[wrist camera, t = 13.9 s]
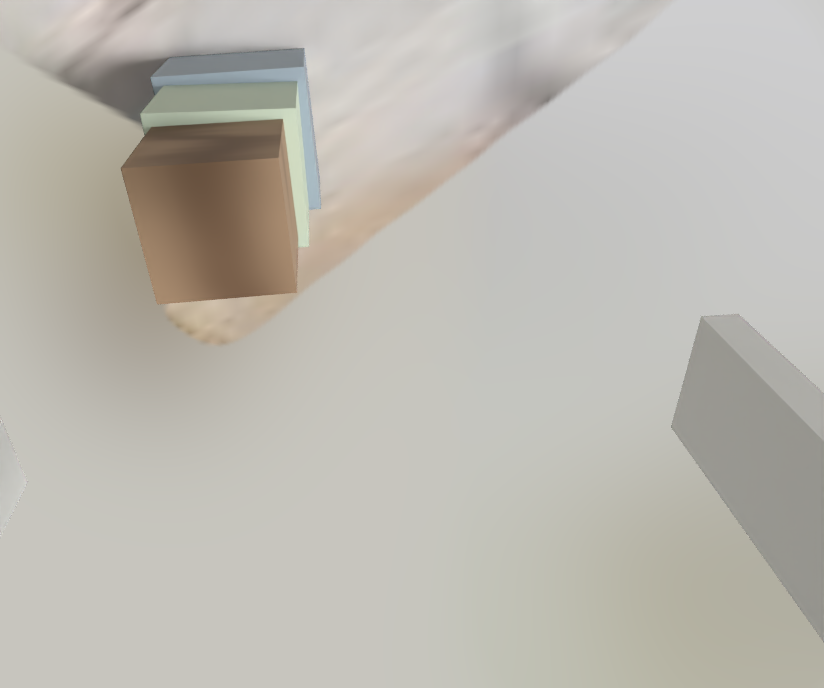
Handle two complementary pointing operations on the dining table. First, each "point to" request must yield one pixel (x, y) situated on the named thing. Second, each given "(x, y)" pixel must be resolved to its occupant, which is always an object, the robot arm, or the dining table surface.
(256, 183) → the walnut block
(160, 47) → the dining table surface
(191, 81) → the slate block
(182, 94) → the sage block
